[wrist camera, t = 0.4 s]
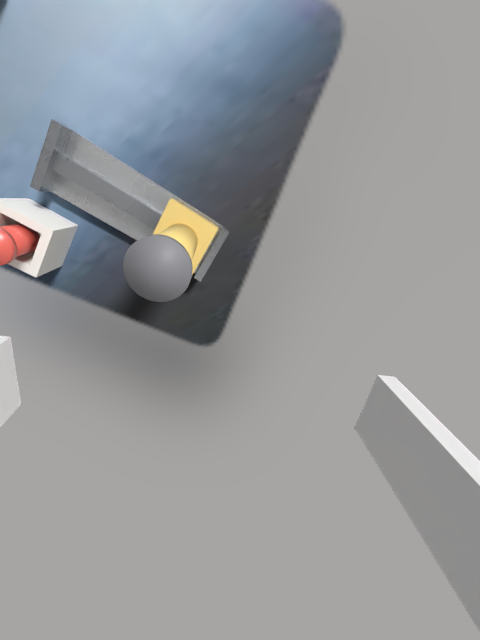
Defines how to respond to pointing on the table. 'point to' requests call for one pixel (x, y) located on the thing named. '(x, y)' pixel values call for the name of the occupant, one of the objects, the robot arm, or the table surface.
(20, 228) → the button
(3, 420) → the robot arm
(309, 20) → the table surface
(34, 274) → the white button housing
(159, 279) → the sliding lever handle
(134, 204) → the rail
